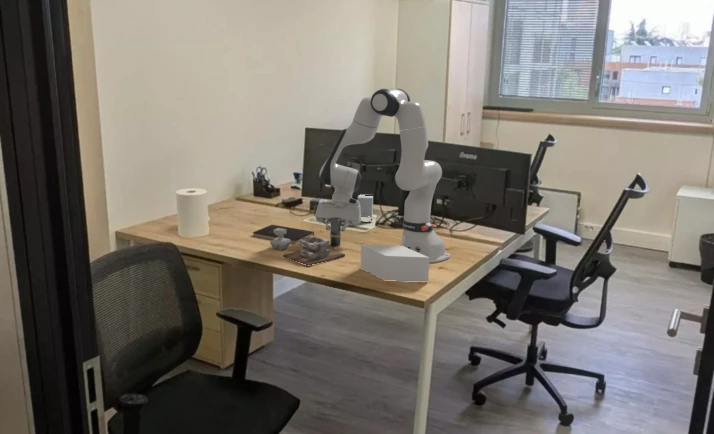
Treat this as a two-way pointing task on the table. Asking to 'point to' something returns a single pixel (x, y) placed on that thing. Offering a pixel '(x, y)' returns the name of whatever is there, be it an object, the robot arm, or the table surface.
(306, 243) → the collar stand
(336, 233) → the tube
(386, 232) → the table surface
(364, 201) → the supplement box
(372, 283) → the table surface
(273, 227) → the hardcover book
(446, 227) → the table surface
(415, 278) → the grey wedge block
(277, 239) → the stamp
